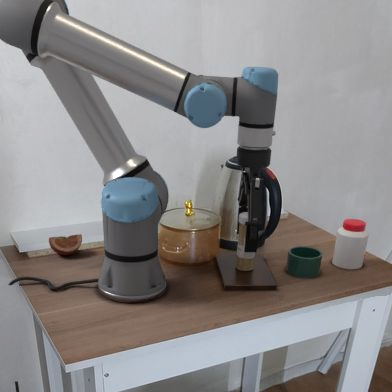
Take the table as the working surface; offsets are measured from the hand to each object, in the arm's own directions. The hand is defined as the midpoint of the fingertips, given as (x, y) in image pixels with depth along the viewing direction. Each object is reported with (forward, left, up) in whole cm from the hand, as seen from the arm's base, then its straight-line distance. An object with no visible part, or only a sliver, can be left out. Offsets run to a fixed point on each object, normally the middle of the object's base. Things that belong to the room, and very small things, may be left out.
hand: (246, 242), depth 132 cm
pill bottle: (+28, +6, -8) cm, 30 cm away
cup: (+15, +1, -8) cm, 17 cm away
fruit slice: (-44, +12, -8) cm, 46 cm away
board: (0, 0, -8) cm, 8 cm away
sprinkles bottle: (0, 0, -7) cm, 7 cm away
